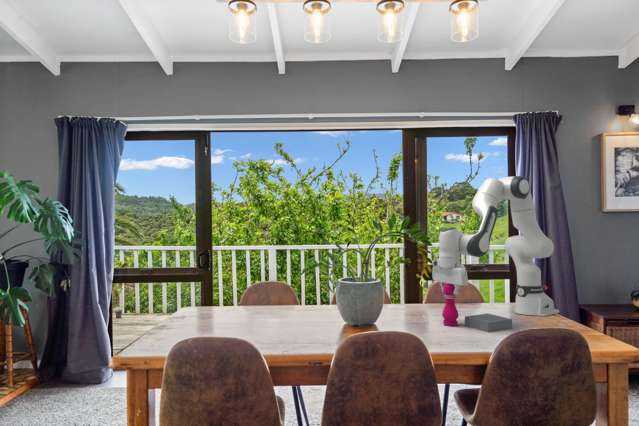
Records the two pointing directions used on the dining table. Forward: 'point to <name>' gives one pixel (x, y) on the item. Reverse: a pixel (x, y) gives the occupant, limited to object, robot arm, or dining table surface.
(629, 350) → the dining table surface
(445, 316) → the pepper mill
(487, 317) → the riser
